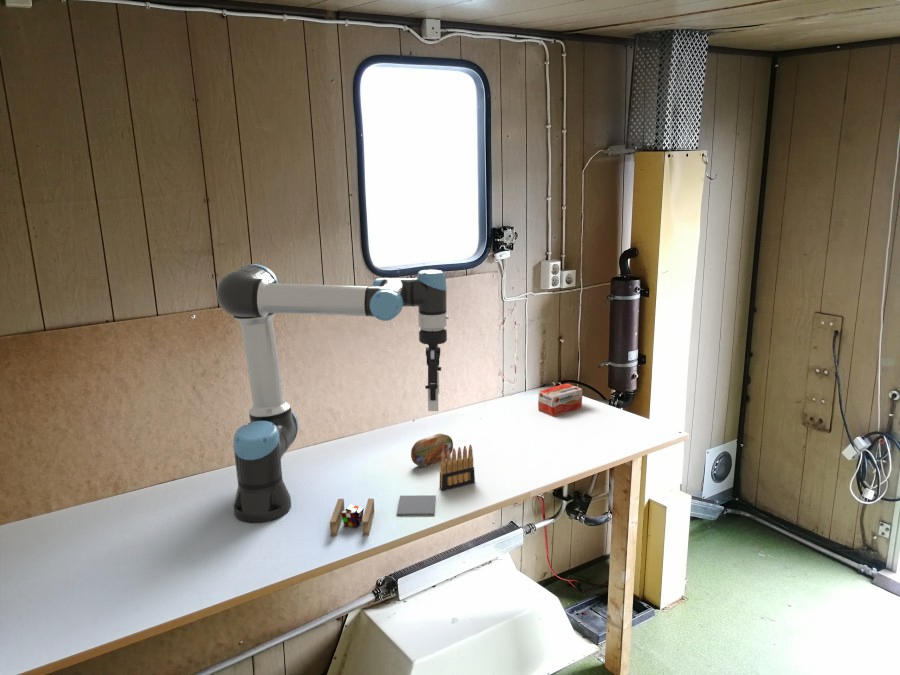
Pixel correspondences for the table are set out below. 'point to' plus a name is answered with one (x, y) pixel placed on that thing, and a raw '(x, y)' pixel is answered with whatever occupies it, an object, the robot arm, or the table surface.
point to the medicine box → (560, 399)
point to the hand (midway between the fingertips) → (433, 402)
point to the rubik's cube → (352, 516)
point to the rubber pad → (416, 505)
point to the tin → (431, 449)
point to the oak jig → (337, 517)
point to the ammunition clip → (456, 469)
